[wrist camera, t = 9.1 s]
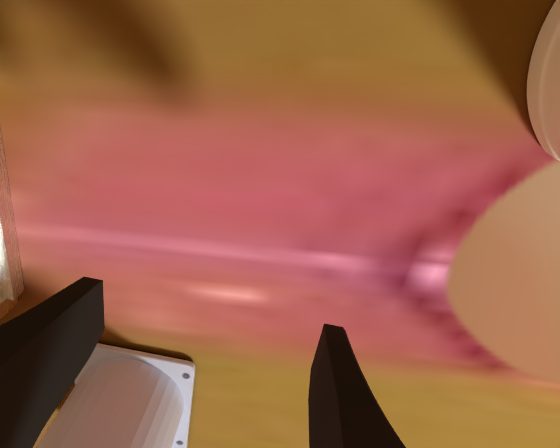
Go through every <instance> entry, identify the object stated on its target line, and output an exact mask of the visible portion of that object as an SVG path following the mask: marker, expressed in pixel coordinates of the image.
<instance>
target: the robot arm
mask: <svg viewBox="0 0 560 448" xmlns="http://www.w3.org/2000/svg"><path fill="white" fill-rule="evenodd" d="M103 330H104V301H103V280H98V279H93V278H88V277H83V278H81V279H79V280H78V281H76V282H74V283H73V284H71V285H70V286H68V287H66V288H65V289H63V290H61V291H60V292H58V293H57V294H55V295H53V296H52V297H50V298H48V299H47V300H45V301H44V302H42V303H40V304H39V305H37V306H35V307H33V308H32V309H30V310H28V311H27V312H25V313H23V314H21V315H20V316H18V317H16V318H14V319H12V320H10V321H9V322H7V323H5V324H3V325H1V326H0V448H33V446H34V444H35V442H36V440H37V438H38V437H39V435H40V433H41V431H42V429H43V428H44V426H45V425H46V423H47V421H48V420H49V418H50V417H51V415H52V414H53V412H54V411H55V409H56V408H57V406H58V405H59V403H60V402H61V400H62V399H63V397H64V396H65V394H66V393H67V391H68V390H69V388H70V387H71V385H72V384H73V382H75V387H74V388H73V390H72V391H71V393H70V395H69V396H68V398H67V399H66V401H65V403H64V404H63V406H62V407H61V409H60V410H59V412H58V414H57V415H56V417H55V418H54V420H53V422H52V423H51V425H50V426H49V428H48V429H47V431H46V433H45V434H44V436H43V437H42V439H41V441H40V442H39V444H38V445H37V447H36V448H187V442H188V433H189V424H190V414H191V405H192V395H193V386H194V377H195V365H194V363H192V362H190V361H187V360H182V359H176V358H171V357H166V356H161V355H156V354H151V353H146V352H141V351H135V350H130V349H125V348H120V347H115V346H110V345H105V344H100V343H98V341H99V339H100V337H101V334H102V332H103ZM186 373H187V374H186ZM308 404H309V446H310V448H406V447H405V446H404V444H403V443H402V441H401V440H400V438H399V437H398V435H397V434H396V432H395V431H394V429H393V428H392V426H391V425H390V423H389V422H388V420H387V418H386V417H385V415H384V413H383V411H382V410H381V408H380V406H379V404H378V403H377V401H376V399H375V397H374V395H373V393H372V391H371V390H370V388H369V386H368V384H367V381H366V379H365V377H364V375H363V373H362V371H361V369H360V367H359V364H358V362H357V360H356V357H355V355H354V353H353V350H352V348H351V345H350V342H349V340H348V337H347V334H346V331H345V330H344V328H343V327H339V326H334V325H329V324H324V326H323V329H322V333H321V336H320V340H319V343H318V347H317V350H316V353H315V357H314V360H313V364H312V367H311V375H310V386H309V398H308Z"/></svg>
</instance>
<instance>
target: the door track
mask: <svg viewBox="0 0 560 448" xmlns="http://www.w3.org/2000/svg"><path fill="white" fill-rule="evenodd" d="M23 291H24V285H23V278H22V271H21V264H20V258H19V251H18V244H17V237H16V231H15V224H14V217H13V210H12V204H11V197H10V190H9V183H8V176H7V170H6V163H5V156H4V149H3V143H2V136H1V129H0V319H1V318H2V317H3V316H4V315H5V314H6V313H7V312H8V311H9V310H10V309H11V308H12V307H13V306H14V305H15V304H16V303H17V302H18V296H19V295H20V294H21V293H22V292H23Z"/></svg>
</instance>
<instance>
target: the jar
mask: <svg viewBox="0 0 560 448" xmlns="http://www.w3.org/2000/svg"><path fill="white" fill-rule="evenodd" d="M527 105H528V112H529V117H530V121H531V124H532V127H533V130H534V133H535V135H536V137H537V139H538V141H539V143H540V145H541V146H542V148H543V149H544V150H545V151H546V152H547V153H548V154H550V155H551V156H553V157H554V158H555V159H557V160H560V0H556V1H555V2H554V4H553V6H552V8H551V9H550V11H549V13H548V15H547V17H546V19H545V21H544V23H543V25H542V27H541V30H540V32H539V35H538V37H537V40H536V43H535V46H534V49H533V52H532V56H531V60H530V65H529V71H528V78H527Z"/></svg>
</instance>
